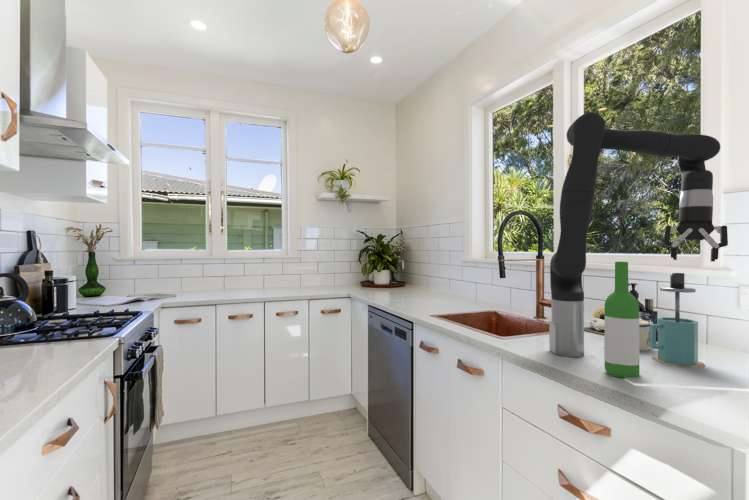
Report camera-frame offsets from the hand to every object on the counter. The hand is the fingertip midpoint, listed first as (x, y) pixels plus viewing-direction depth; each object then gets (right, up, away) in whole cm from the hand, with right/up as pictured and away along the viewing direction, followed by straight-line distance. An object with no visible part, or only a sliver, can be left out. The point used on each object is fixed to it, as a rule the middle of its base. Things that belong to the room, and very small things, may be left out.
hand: (693, 260), depth 109 cm
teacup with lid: (-8, -30, +15) cm, 35 cm away
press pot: (-8, -29, -2) cm, 30 cm away
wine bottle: (-29, -30, -12) cm, 44 cm away
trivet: (-7, -30, -2) cm, 31 cm away
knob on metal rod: (-7, -19, -2) cm, 20 cm away
